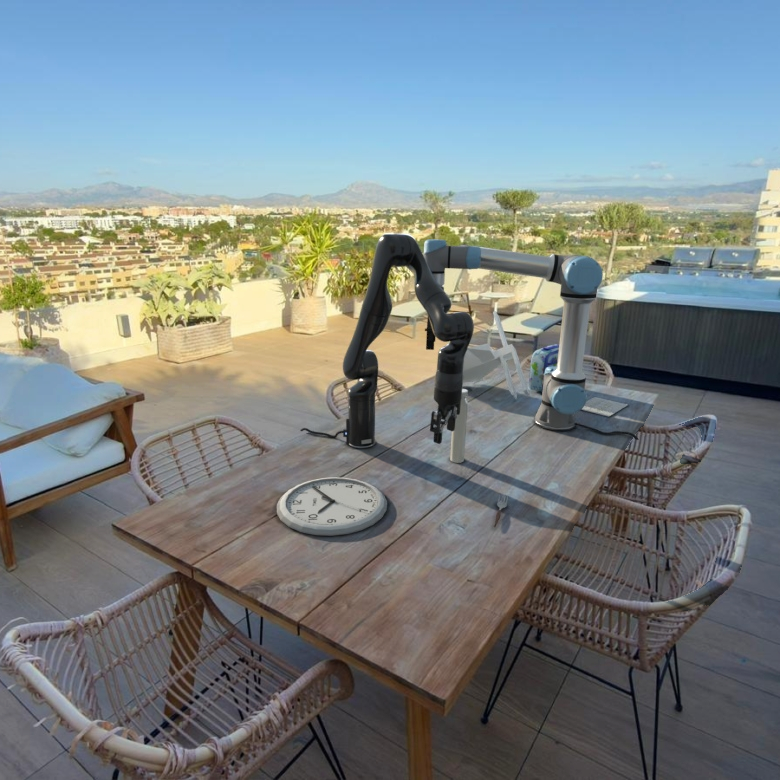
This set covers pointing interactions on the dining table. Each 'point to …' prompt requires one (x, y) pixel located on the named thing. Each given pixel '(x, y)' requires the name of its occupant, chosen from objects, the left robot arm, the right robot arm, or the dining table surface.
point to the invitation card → (603, 406)
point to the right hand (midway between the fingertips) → (430, 345)
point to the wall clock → (331, 506)
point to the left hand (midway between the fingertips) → (444, 436)
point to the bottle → (459, 434)
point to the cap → (464, 393)
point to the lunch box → (542, 365)
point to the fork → (500, 505)
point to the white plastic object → (492, 361)
